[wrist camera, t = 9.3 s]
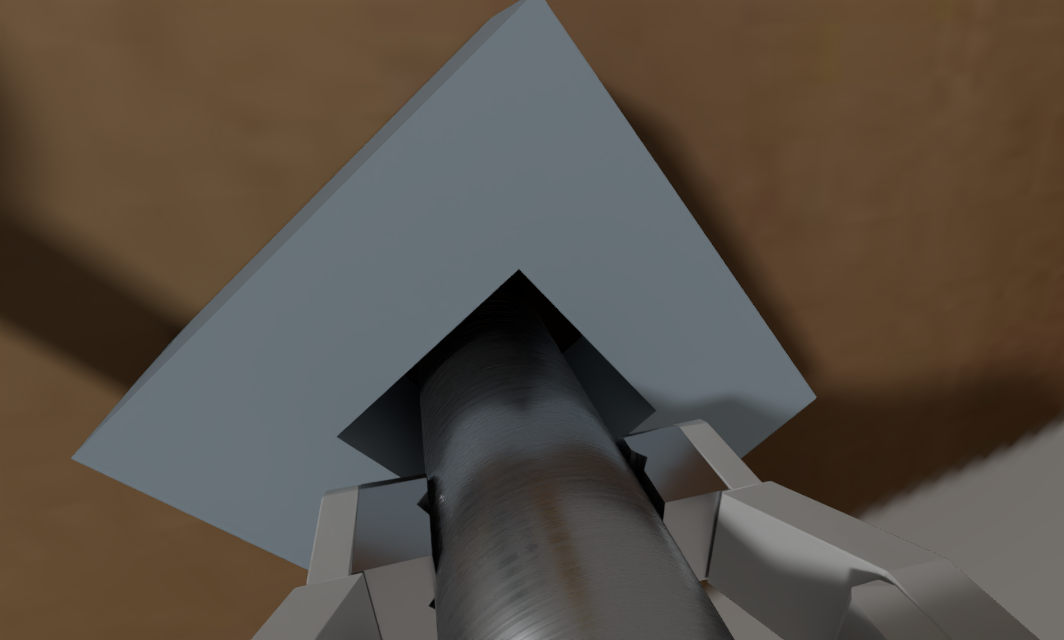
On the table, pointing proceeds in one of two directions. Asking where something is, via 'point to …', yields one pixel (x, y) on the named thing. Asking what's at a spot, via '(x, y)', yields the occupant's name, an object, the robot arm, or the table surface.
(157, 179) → the table surface
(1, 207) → the table surface
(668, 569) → the pin
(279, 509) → the slot block
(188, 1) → the table surface
